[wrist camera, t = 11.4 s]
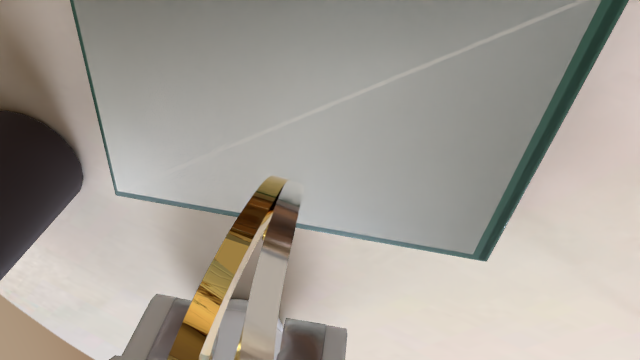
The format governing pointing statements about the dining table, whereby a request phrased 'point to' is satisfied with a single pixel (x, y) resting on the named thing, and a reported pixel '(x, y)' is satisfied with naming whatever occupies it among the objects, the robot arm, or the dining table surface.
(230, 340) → the flower vase
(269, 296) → the ring
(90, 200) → the dining table surface
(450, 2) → the book
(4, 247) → the vinegar
